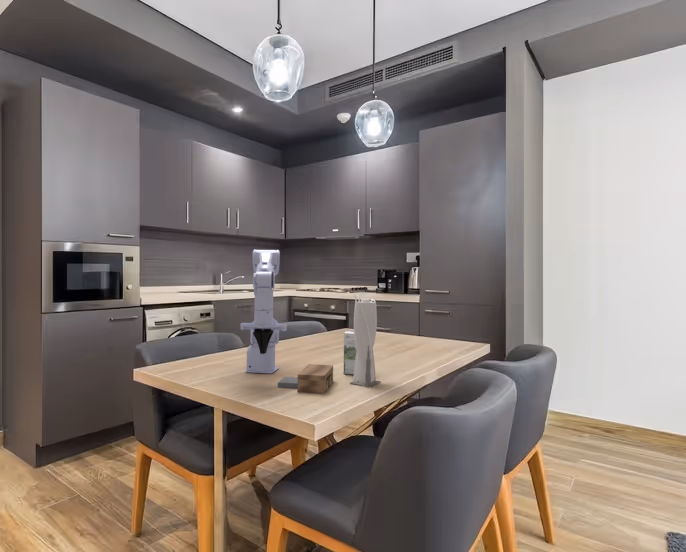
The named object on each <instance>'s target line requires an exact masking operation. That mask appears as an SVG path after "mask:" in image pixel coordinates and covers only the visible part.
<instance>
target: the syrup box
mask: <svg viewBox="0 0 686 552" xmlns="http://www.w3.org/2000/svg"><path fill="white" fill-rule="evenodd" d="M356 351H357V349H356V344H355V338H354V330H346V331H345V332H343V375H349V376H354V367H355V358H356Z"/></svg>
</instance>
